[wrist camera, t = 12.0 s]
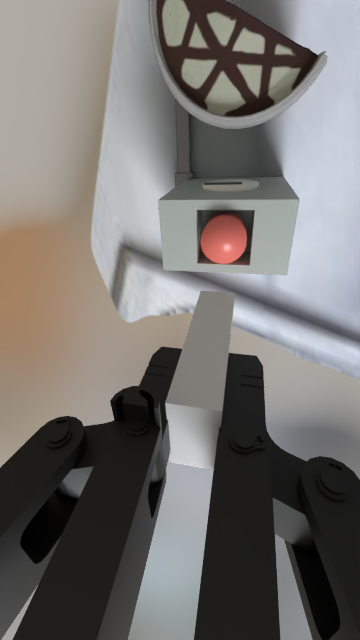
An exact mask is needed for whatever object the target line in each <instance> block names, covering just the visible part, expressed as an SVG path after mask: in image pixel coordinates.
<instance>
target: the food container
mask: <svg viewBox="0 0 360 640" xmlns="http://www.w3.org/2000/svg"><path fill="white" fill-rule="evenodd" d="M149 23H150V31H151V38H152V42H153V46H154V51H155V55H156V58H157V62H158V65H159V67H160V70H161V72H162V75H163V78H164V80H165V82H166V83H167V85H168V87H169V89H170V91H171V93H172V94H173V95H174V97H175V98H176V99H177V100H178V102H179V103H180V104H181V105H182V106H183V107H184V108H185V109H186V110H187V111H188V112H189V113H190V114H191V115H193V116H194V117H196V118H197V119H199V120H200V121H202V122H205V123H207V124H209V125H212V126H215V127H219V128H224V129H242V128H249V127H253V126H256V125H259V124H262V123H265V122H267V121H269V120H271V119H272V118H274V117H276V116H278V115H280V114H281V113H282V112H284V111H285V110H286V109H288V108H289V107H290V106H292V105H293V104H294V103H295V102H296V101H297V100H298V99H299V98H300V97H301V96H302V95H303V94H304V93H305V92H306V91H307V90H308V88H309V87H310V86H311V85H312V83H313V82H314V81H315V80H316V79H317V77H318V75H319V74H320V72H321V71H322V69H323V68H324V66H325V64H326V63H327V56H326V55H324V54H325V53H326V51H324V52H322V53H321V54H319V55H317V54H315V53H313V52H312V51H311V50H310V49H308V48H305V47H303V46H301V45H299V44H297V43H295V42H294V41H292V40H290V39H289V38H287V37H285V36H284V35H282V34H281V33H279V32H277V31H276V30H274V29H272V28H271V27H269V26H267V25H266V24H264V23H263V22H261V21H259V20H258V19H256V18H255V17H253V16H252V15H250V14H248V13H247V12H245V11H244V10H242V9H240V8H239V7H237V6H235V5H233V4H231V3H229V2H227V1H226V0H149Z"/></svg>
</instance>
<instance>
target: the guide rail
mask: <svg viewBox="0 0 360 640" xmlns="http://www.w3.org/2000/svg"><path fill="white" fill-rule="evenodd" d="M175 102H176V127H177V152H178V173H176V174H175V186H178V185H179V184H181V183H182V182H183V181H185V180H192V179H194V172H191V155H190V113H189V112H188V111H187V110H186V109H185V108H184V107H183V106H182V105H181V104H180V103H179V102H178V100H177V99H176V98H175Z"/></svg>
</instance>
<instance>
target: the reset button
mask: <svg viewBox="0 0 360 640" xmlns="http://www.w3.org/2000/svg"><path fill="white" fill-rule="evenodd" d="M246 243H247V227H246V224H245V222H244V220H243V219H242V217H241V216H239V215H238V214H236V213H234V212H231V211H222V212H219V213H216V214H215V215H213V216H212V217H211V218H210V219H209V221H208V222H207V224H206V226H205V228H204V230H203V232H202V235H201V248H202V251H203V253H204V254H205V255H206V257H207V258H209V259H210V260H211V261H213V262H216V263H220V264H227V263H231V262H233V261H235V260H237V259H238V258H239V257H240V256H241V255H242V254H243V252H244V250H245V248H246Z"/></svg>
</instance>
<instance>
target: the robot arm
mask: <svg viewBox="0 0 360 640" xmlns="http://www.w3.org/2000/svg"><path fill="white" fill-rule="evenodd" d="M234 296H235V293H226V292H211V291H201V292H200V295H199V299H198V302H197V305H196V308H195V311H194V314H193V317H192V321H191V324H190V327H189V330H188V333H187V336H186V340H185V343H184V346H183V349H178V348H169V347H161V348H160V349H159V350H158V351H157V352H156V353H154V354H153V356H152V358H151V360H150V362H149V366H148V367H147V369H146V371H145V375H144V376H143V378H142V381H141V383H140V385H139V386H132V387H128V388H125V389H123V390H121V391H120V392H118V393H116V394H115V395H114V397H113V398H112V399H111V406H112V411H113V415H114V421H112V422H108V423H104V424H98V425H90V426H83V424H82V422H81V421H80V420H78V419H77V418H75V417H70V416H64V417H58V418H56V419H53V420H51V421H49V422H48V423H46V424H45V425H44V426H42V427H41V428H40V429H39V430H38V431H37V432H36V433H35V434H34V435H33V436H32V437H31V438H30V439H29V440H28V441H27V442H26V443H25V444H24V445H23V446H22V447H21V448H20V449H19V450H18V451H17V452H16V453H15V454H14V455H13V456H12V457H11V458H10V459H9V460H8V461H7V462H6V463H5V464H4V465H3V466H2V467H1V468H0V640H1V639H2V637H3V636H4V635H5V633H6V631H7V630H8V628H9V627H10V626H11V624H12V623H13V621H14V619H15V618H16V617H17V615H18V614H19V612H20V611H21V609H22V608H23V606H24V605H25V603H26V602H27V600H28V599H29V597H30V596H31V594H32V593H33V591H34V590H35V588H36V587H37V585H38V584H39V585H38V587H37V589H36V591H35V593H34V595H33V598H32V600H31V602H30V604H29V606H28V608H27V610H26V612H25V615H24V617H23V619H22V621H21V623H20V625H19V627H18V629H17V632H16V634H15V636H14V638H13V640H127V639H128V636H129V631H130V627H131V623H132V619H133V615H134V611H135V606H136V602H137V598H138V594H139V590H140V586H141V582H142V578H143V574H144V569H145V566H146V561H147V557H148V553H149V549H150V545H151V541H152V537H153V533H154V528H155V524H156V520H157V516H158V512H159V508H160V503H161V499H162V495H163V491H164V487H165V483H166V466H167V462H168V458H169V455H170V462H172V463H177V464H182V465H188V466H194V467H199V468H204V469H210V470H214V472H213V482H212V489H211V498H210V507H209V516H208V524H207V532H206V541H205V551H204V559H203V567H202V576H201V584H200V593H199V602H198V610H197V619H196V627H195V636H194V640H280V626H279V607H278V588H277V569H276V552H275V534H276V535H278V536H279V537H281V538H283V539H284V540H285V544H286V547H287V551H288V554H289V558H290V561H291V565H292V568H293V572H294V575H295V579H296V582H297V586H298V589H299V593H300V596H301V600H302V604H303V607H304V610H305V614H306V617H307V621H308V625H309V628H310V632H311V635H312V639H313V640H360V480H359V478H358V477H357V476H356V474H355V473H354V472H353V471H352V470H351V469H350V468H348V467H347V466H346V465H345V464H343V463H341V462H339V461H337V460H335V459H332V458H328V457H321V456H319V457H315V458H311V459H309V460H308V461H304V460H302V459H300V458H298V457H296V456H294V455H292V454H289V453H288V452H286V451H284V450H283V449H281V448H280V447H279V446H277V445H276V444H275V443H274V442H273V440H272V439H271V438H270V436H269V434H268V432H267V429H266V422H265V401H264V380H263V366H262V364H261V362H260V361H259V359H258V358H257V356H252V355H242V354H233V353H230V344H231V332H232V320H233V308H234Z"/></svg>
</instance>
